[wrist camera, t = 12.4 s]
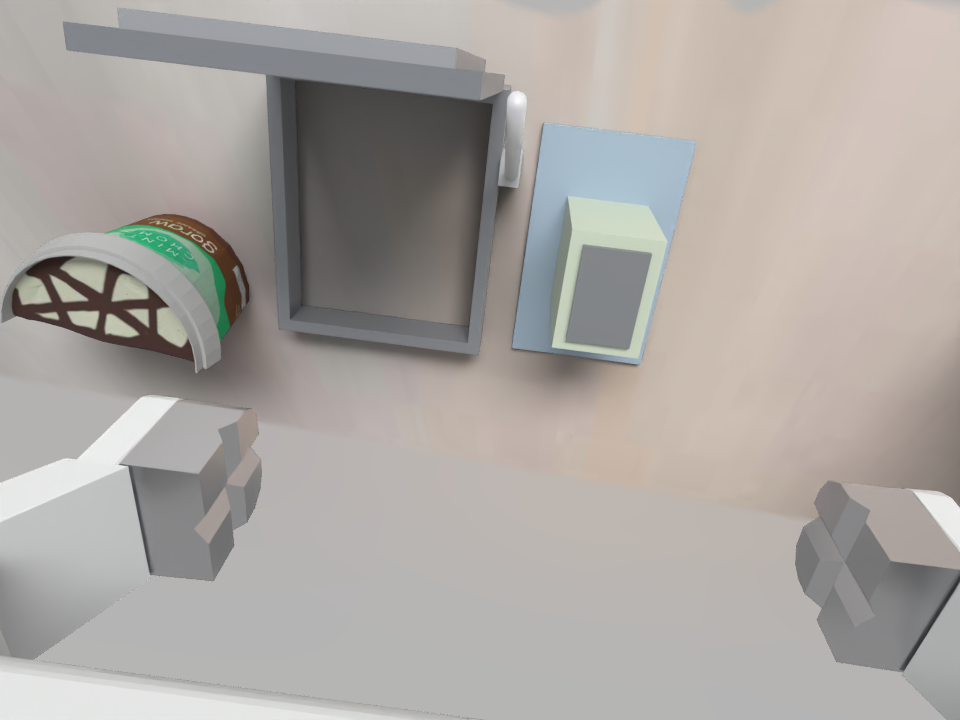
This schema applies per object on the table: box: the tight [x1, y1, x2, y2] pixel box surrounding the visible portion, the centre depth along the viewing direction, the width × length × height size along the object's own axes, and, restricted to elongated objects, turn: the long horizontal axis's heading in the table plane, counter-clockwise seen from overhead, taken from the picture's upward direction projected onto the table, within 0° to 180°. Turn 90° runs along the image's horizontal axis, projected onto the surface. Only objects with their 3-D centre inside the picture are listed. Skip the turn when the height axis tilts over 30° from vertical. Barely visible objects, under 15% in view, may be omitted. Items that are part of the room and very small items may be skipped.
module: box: [550, 196, 668, 359], centre depth 39 cm, size 5×7×7 cm
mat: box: [512, 123, 696, 365], centre depth 42 cm, size 9×15×1 cm, turn 174°
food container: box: [0, 214, 249, 373], centre depth 40 cm, size 12×6×10 cm, turn 76°
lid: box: [63, 8, 505, 100], centre depth 28 cm, size 13×17×1 cm
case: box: [266, 75, 527, 355], centre depth 36 cm, size 15×18×13 cm
